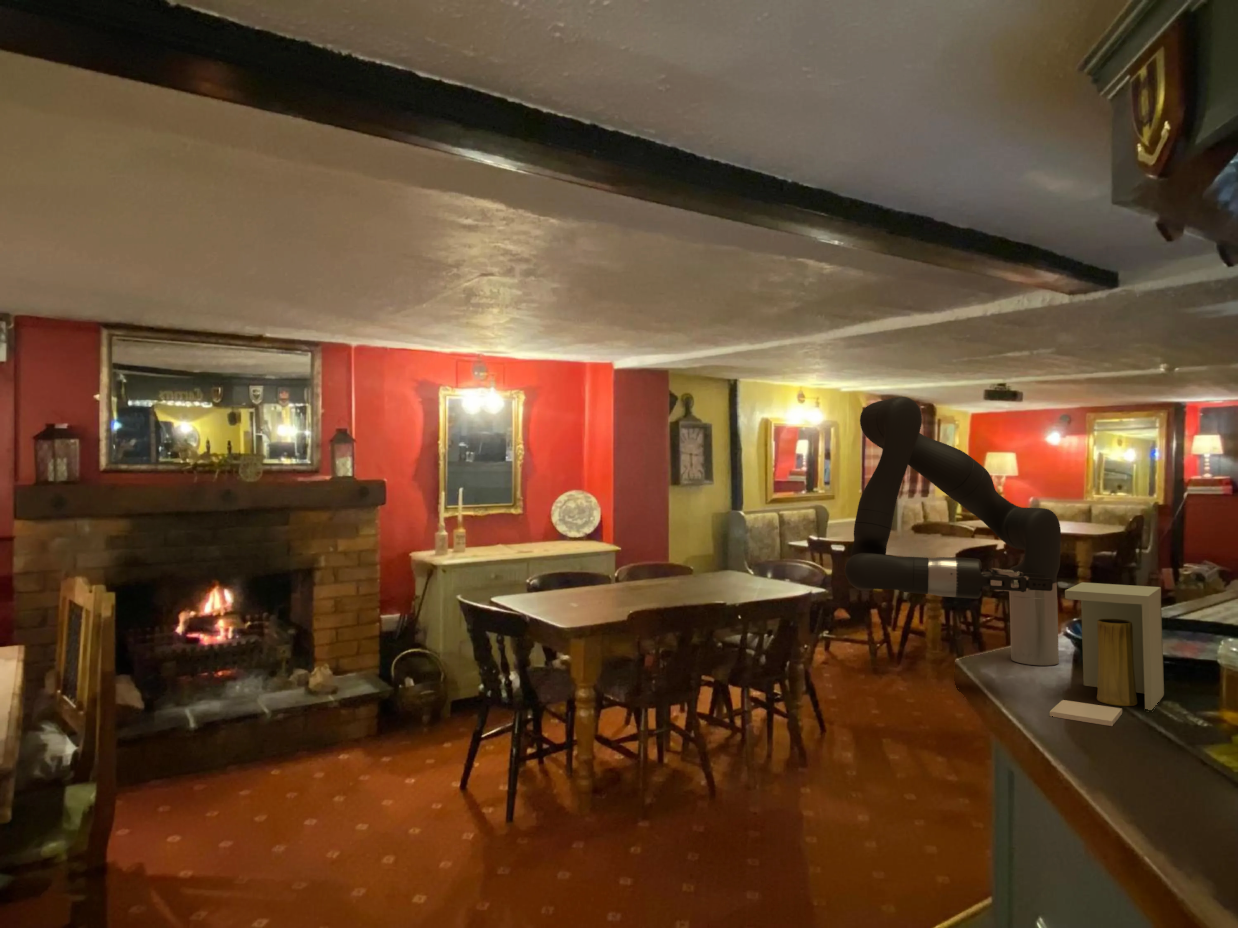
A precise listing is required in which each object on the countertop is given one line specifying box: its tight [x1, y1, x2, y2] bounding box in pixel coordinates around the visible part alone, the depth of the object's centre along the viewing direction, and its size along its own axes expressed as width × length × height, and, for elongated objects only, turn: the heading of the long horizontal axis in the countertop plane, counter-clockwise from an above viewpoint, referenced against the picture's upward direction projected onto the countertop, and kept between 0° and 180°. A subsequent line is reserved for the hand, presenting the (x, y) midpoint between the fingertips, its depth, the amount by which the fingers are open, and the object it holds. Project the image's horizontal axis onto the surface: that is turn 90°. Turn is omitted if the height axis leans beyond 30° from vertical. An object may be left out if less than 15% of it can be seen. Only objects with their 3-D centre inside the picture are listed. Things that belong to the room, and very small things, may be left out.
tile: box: [1049, 699, 1123, 727], centre depth 135 cm, size 9×9×1 cm
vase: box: [1096, 619, 1138, 707], centre depth 143 cm, size 6×6×14 cm
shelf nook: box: [1064, 581, 1165, 710], centre depth 146 cm, size 14×13×20 cm
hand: (1048, 582), depth 149 cm, fingers open, 8 cm apart
